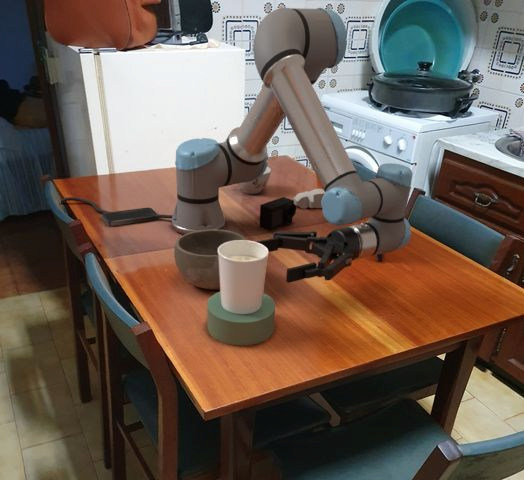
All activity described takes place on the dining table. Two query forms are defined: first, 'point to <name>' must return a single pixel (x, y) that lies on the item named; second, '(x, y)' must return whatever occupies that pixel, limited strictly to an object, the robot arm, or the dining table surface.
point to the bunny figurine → (309, 199)
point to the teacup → (256, 183)
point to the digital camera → (276, 213)
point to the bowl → (202, 256)
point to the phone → (129, 216)
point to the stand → (240, 322)
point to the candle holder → (242, 275)
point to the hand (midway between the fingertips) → (268, 261)
